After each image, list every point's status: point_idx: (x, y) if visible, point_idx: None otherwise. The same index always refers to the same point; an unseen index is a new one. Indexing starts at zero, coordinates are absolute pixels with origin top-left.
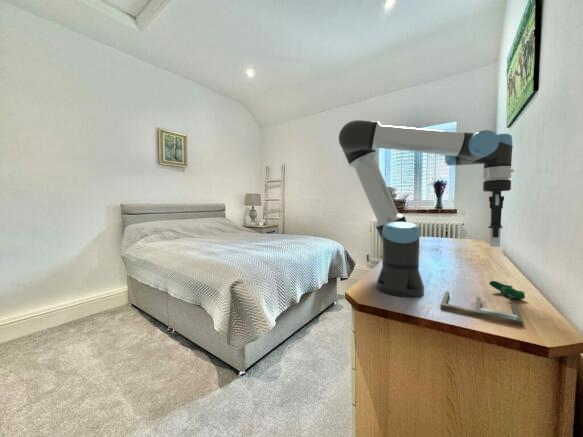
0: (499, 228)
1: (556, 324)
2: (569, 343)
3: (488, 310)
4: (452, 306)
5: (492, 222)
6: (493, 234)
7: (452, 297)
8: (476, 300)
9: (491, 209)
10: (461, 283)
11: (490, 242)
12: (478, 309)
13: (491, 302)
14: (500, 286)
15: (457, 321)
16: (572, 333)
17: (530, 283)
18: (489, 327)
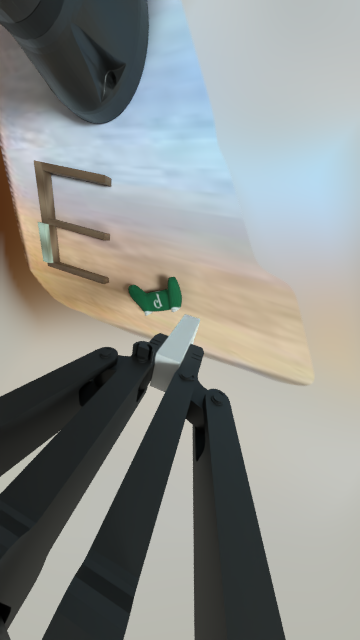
0: (151, 383)
1: (85, 304)
2: (48, 291)
3: (42, 232)
4: (38, 182)
5: (80, 361)
6: (151, 340)
7: (109, 193)
8: (86, 229)
9: (103, 556)
10: (220, 230)
11: (180, 320)
12: (51, 222)
13: (119, 258)
14: (167, 292)
15: (23, 189)
16: (71, 306)
17: (266, 370)
18: (33, 227)
